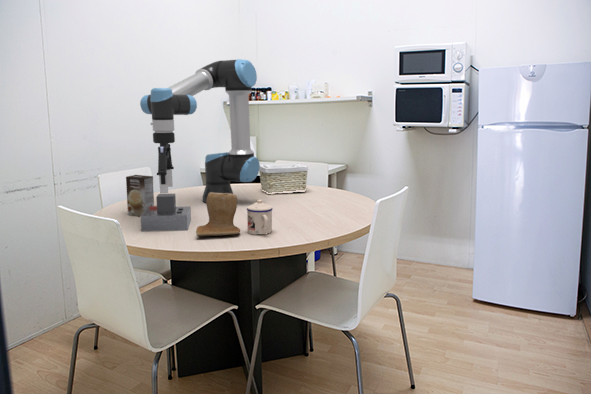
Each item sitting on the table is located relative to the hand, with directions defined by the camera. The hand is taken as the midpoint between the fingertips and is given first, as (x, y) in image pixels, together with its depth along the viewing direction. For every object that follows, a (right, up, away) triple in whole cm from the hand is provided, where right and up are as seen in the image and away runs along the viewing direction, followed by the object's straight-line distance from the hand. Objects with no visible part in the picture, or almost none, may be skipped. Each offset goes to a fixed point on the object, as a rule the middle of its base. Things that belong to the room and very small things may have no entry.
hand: (166, 189), depth 168 cm
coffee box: (-16, -10, +20) cm, 27 cm away
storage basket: (+41, 0, +78) cm, 88 cm away
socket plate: (0, -13, +2) cm, 13 cm away
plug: (0, -13, +2) cm, 13 cm away
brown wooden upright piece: (+21, -16, -10) cm, 28 cm away
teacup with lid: (+36, -16, -8) cm, 39 cm away
